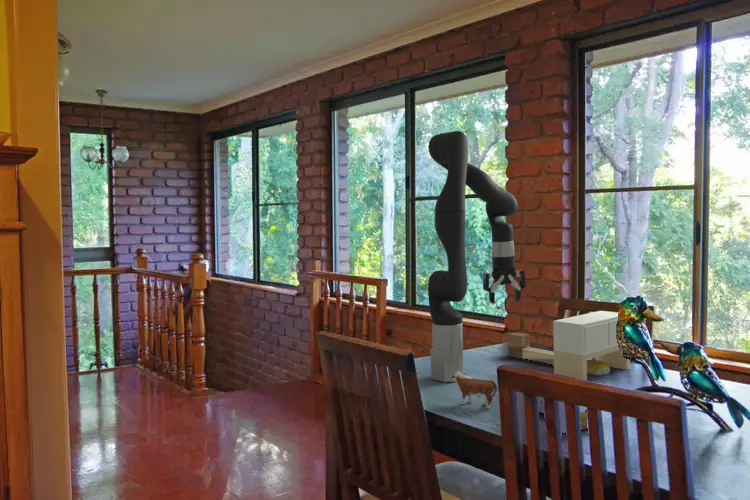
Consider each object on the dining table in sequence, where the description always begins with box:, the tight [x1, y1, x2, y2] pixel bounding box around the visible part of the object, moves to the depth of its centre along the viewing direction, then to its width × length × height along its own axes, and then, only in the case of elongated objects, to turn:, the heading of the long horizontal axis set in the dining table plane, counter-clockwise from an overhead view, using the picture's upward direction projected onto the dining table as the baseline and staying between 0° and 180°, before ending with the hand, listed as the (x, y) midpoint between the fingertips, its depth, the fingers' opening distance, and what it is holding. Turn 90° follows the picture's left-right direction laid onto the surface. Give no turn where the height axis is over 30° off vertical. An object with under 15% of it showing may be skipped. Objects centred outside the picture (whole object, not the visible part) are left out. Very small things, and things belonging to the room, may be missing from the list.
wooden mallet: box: [507, 331, 554, 366], centre depth 210 cm, size 4×24×8 cm, turn 38°
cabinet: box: [552, 310, 631, 381], centre depth 192 cm, size 26×10×18 cm, turn 129°
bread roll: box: [587, 358, 611, 376], centre depth 194 cm, size 8×9×4 cm
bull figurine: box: [452, 371, 498, 410], centre depth 164 cm, size 4×13×8 cm, turn 51°
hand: (504, 302), depth 210 cm, fingers open, 8 cm apart
